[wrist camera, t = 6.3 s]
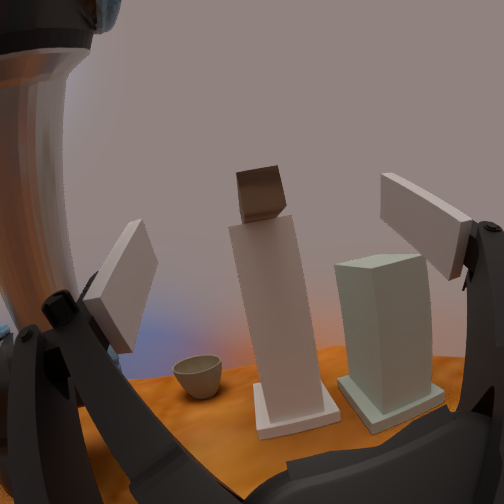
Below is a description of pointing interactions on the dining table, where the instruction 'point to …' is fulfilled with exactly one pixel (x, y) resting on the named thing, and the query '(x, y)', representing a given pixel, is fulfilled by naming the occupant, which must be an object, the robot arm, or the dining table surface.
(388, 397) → the post
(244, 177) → the walnut beam
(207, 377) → the beige round bowl
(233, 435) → the dining table surface
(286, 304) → the tall stand
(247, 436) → the dining table surface
